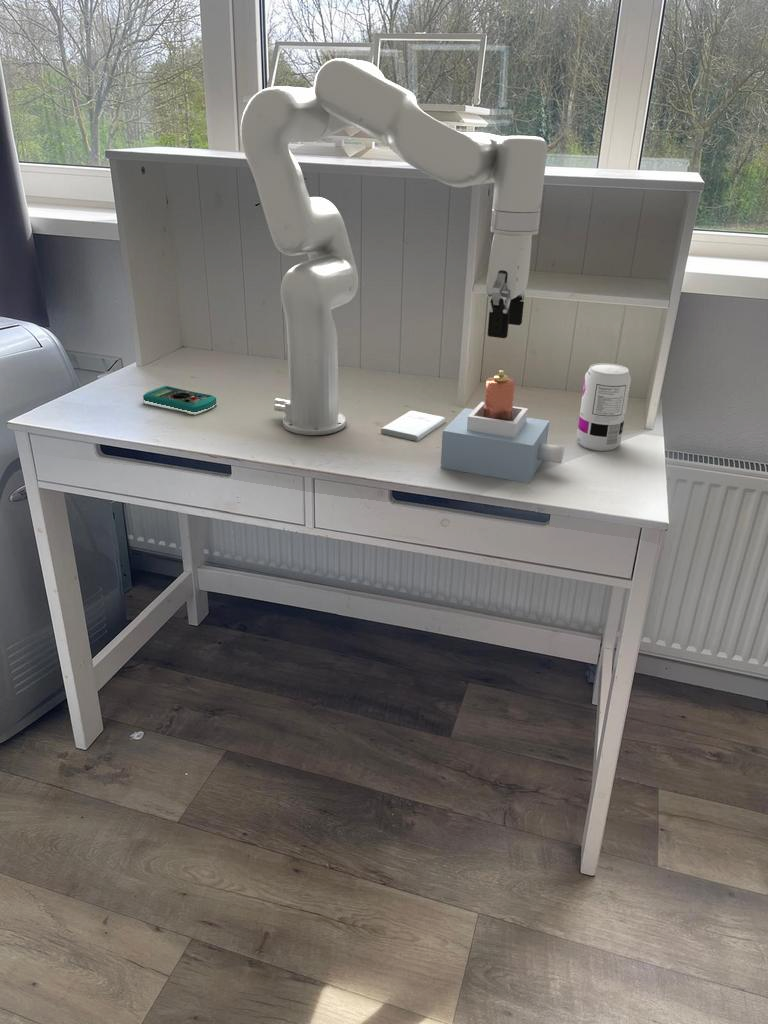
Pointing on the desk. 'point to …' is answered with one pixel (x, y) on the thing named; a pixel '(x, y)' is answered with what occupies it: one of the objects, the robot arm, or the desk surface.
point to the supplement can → (603, 406)
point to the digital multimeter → (180, 398)
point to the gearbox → (498, 445)
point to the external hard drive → (413, 425)
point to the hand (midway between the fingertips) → (504, 330)
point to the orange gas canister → (499, 397)
